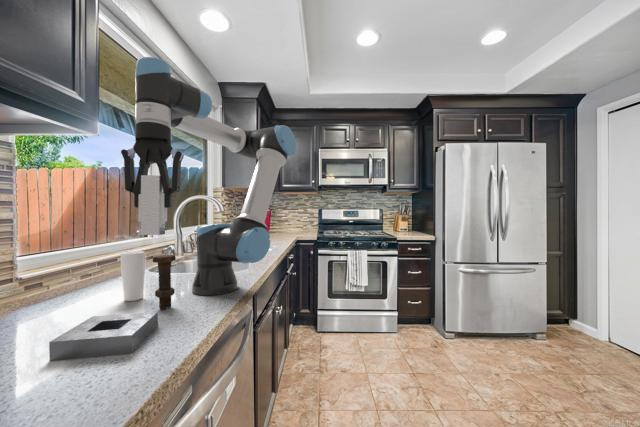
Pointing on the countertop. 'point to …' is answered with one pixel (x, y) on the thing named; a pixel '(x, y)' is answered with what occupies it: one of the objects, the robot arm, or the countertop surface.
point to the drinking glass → (133, 274)
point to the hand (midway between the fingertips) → (153, 221)
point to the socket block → (104, 336)
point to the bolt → (164, 280)
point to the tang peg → (151, 205)
